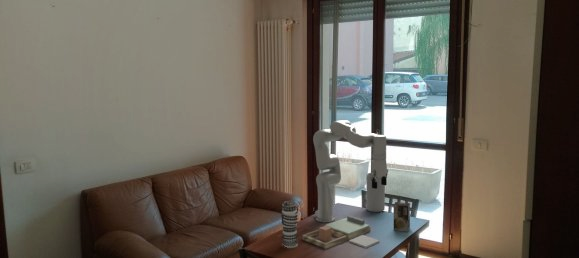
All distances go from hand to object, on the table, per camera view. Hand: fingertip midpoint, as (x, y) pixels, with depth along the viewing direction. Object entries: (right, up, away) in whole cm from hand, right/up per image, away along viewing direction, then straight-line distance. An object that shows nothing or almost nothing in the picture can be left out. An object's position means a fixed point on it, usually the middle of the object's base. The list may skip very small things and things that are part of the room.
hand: (379, 186), depth 239 cm
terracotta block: (-30, -31, +3) cm, 44 cm away
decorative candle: (-51, -32, -4) cm, 60 cm away
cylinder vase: (+9, -24, +56) cm, 62 cm away
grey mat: (-9, -31, -2) cm, 32 cm away
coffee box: (+17, -29, +17) cm, 37 cm away
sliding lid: (-16, -26, +15) cm, 35 cm away
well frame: (-23, -30, +10) cm, 39 cm away
